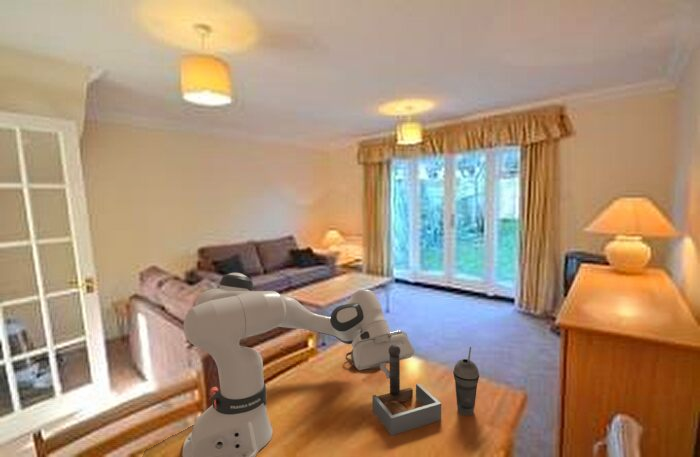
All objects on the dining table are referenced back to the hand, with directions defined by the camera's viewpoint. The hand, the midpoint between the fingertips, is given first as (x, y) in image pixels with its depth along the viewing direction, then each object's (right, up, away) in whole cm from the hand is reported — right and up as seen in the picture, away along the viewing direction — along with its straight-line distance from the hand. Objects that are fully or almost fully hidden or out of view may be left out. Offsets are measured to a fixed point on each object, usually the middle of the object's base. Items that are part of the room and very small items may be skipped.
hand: (392, 377), depth 111 cm
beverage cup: (+21, -8, -6) cm, 23 cm away
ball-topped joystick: (+1, -7, -1) cm, 8 cm away
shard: (+1, -8, -6) cm, 10 cm away
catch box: (+3, -8, -7) cm, 11 cm away
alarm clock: (-7, -5, +25) cm, 26 cm away
